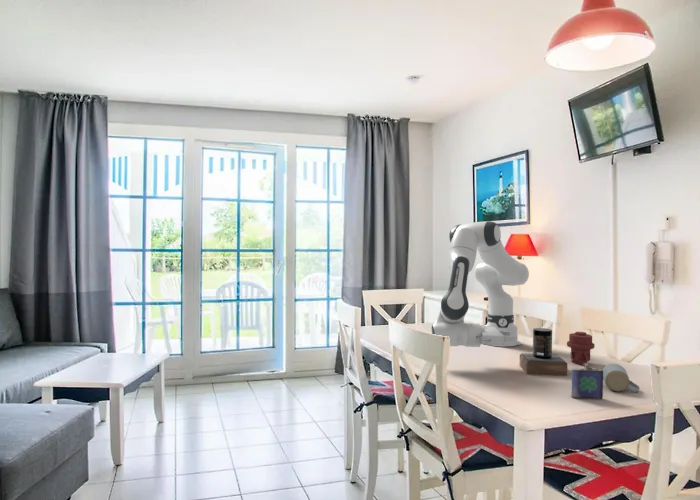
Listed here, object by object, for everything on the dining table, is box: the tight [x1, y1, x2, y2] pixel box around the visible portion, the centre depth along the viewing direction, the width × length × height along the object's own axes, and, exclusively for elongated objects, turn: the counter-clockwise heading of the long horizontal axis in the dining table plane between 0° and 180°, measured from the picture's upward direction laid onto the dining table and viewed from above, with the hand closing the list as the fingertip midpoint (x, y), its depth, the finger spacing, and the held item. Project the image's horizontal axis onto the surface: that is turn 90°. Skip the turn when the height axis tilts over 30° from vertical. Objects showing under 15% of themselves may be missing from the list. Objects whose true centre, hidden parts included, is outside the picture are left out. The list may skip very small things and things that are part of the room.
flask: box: [570, 362, 604, 401], centre depth 155 cm, size 9×3×11 cm, turn 84°
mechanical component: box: [566, 331, 596, 366], centre depth 200 cm, size 12×10×10 cm
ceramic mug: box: [602, 363, 641, 393], centre depth 164 cm, size 11×8×8 cm
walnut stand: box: [519, 352, 568, 377], centre depth 189 cm, size 13×14×5 cm
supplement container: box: [532, 327, 553, 359], centre depth 189 cm, size 7×7×10 cm
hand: (512, 336), depth 190 cm, fingers open, 8 cm apart
